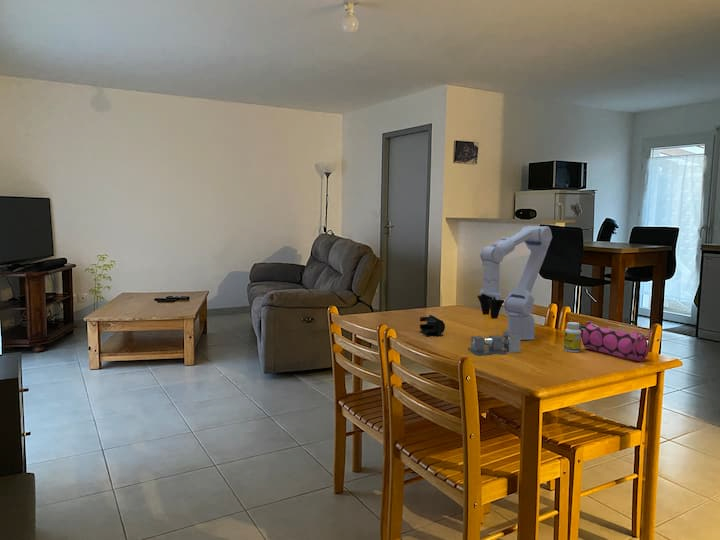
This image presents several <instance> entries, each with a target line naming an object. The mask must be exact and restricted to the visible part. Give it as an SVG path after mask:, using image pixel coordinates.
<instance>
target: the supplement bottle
mask: <svg viewBox="0 0 720 540" xmlns="http://www.w3.org/2000/svg"><path fill="white" fill-rule="evenodd" d="M566 326H567V328H565V329H564V342H563V343H564V344H563V350H564V351H565V352H570V353H580V352H581V349H582V348H581V347H582V338H581V332H582V330H581V329H580V326H581V325H580V323H579V322H576V321H575V322H574V321H569V322H567V323H566Z"/></svg>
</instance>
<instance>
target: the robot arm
mask: <svg viewBox="0 0 720 540" xmlns="http://www.w3.org/2000/svg"><path fill="white" fill-rule="evenodd" d="M552 239H553V235H552V229H551V228H550V227H549V226H548V225H544V226H543V225H542V226H540V225H539V226H537V225H536V226H535V225H526V226H523V227H522V228H521V229H520V231H518V232H517V233H515V234H514V235H512V236H511V237H506V236H505V237H504V236H503V237H501V238H500V240H499V241H497V242H493V243H492V245H491V246H490V245H489V246H488V245H486V246H484V247H483V248H482V249H481V252H480V253H479V257H480V260H481V263H482V267H483V274H482V288H480V289H479V295H477V298H478V302H479V303H480V307H481V312H482V315H483V316H485V315H486V316H487V315H490V318H491V319H492V320H494V319H498V318H499V314H500V312H501V311H500V310H501V308H502V306H503V309H504V311H505V312H506V315H507V331H514V332H517V333H519V334H521V337H520V341H523V340H525V341H526V340H527V341H529V340H531V341H532V340H536V338H535V328H536V327H535V323H536V321H535V319H534V316H533V315H532V314H531V313H532V311H534V303H535V298H534V296H533V294H532V290H533V289H534V285H535V283H536V280H537V279H538V276H539V273H540V270H541V267H542V266H543V264H544V260H545V257H546V256H547V252H548V249H549V247H550V244H551V241H552ZM522 243H524V244H525V245H526V247H527V249H529V250H530V254H529V256H528V259H527V262H526V264H525V267H524V269H523V272H522V274H521V276H520V279H519V281H518V284H517V286H516V288H514V289H512V290H511V291H509V294H508V295H507V296H506V298H505V299H503V294H502V293H500V267H501V265H500V263H502V261H503V260H504V258H505V257H506V256H507V255H509V254H510V253H512V252H514V250H516V249H515V248H516V247H517V246H518V245H520V244H522Z"/></svg>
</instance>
